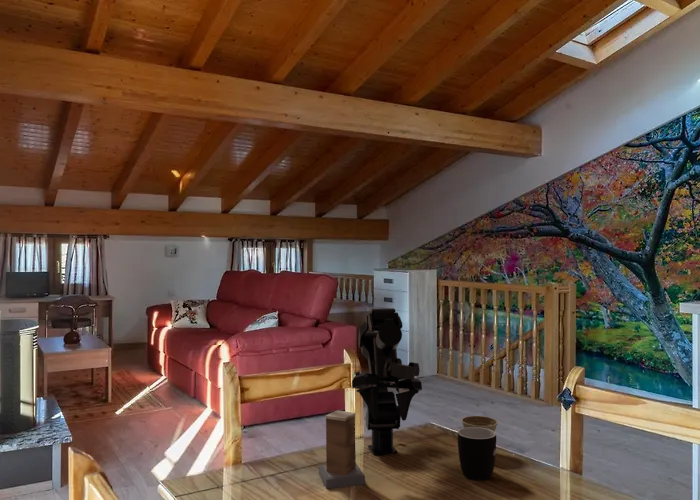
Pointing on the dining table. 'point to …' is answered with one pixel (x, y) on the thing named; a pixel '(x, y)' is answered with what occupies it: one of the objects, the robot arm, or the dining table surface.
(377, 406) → the robot arm
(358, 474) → the slate base
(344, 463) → the brown tall rectangular block
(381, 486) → the dining table surface
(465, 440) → the mug
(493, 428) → the flower pot
